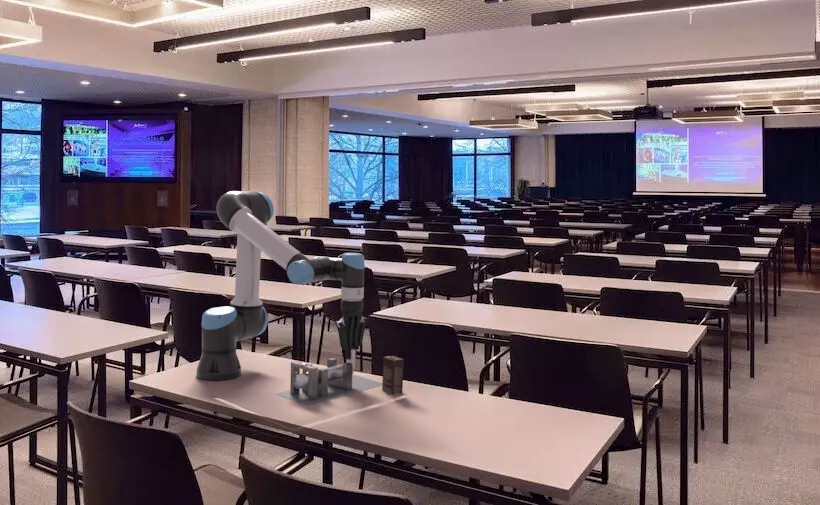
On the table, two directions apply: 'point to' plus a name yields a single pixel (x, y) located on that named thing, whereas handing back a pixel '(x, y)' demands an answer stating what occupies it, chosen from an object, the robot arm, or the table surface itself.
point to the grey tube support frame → (346, 381)
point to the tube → (333, 374)
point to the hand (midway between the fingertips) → (350, 368)
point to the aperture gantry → (311, 383)
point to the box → (392, 375)
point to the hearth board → (333, 391)
